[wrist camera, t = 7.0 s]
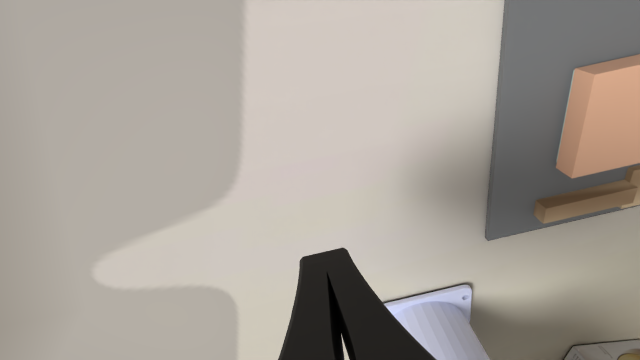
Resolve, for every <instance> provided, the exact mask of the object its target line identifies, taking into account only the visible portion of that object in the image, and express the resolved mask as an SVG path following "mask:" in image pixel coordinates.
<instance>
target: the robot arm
mask: <svg viewBox="0 0 640 360" xmlns="http://www.w3.org/2000/svg"><path fill="white" fill-rule="evenodd" d="M471 299H472V289H471V288H470V286H469V285H460V286H456V287H452V288H448V289H443V290H439V291H435V292H431V293H426V294H422V295H418V296H414V297H409V298H405V299H401V300H397V301H393V302H388V303H384V304H383V303H382V301H381V300H380V299H379V298H378V296H377V295H376V294H375V293H374V291H373V290H372V289H371V287H370V286H369V285H368V283H367V282H366V281H365V279H364V278H363V276H362V275H361V273H360V272H359V270H358V269H357V267H356V266H355V264H354V262H353V261H352V259H351V257H350V255H349V253H348V251H347V250H346V249H345V248H339V249H335V250H331V251H326V252H322V253H318V254H313V255H309V256H305V257H302V259H301V260H300V270H299V279H298V286H297V291H296V297H295V301H294V306H293V310H292V314H291V319H290V323H289V326H288V330H287V333H286V336H285V340H284V343H283V347H282V350H281V353H280V356H279V359H278V360H344V353H343V345H342V337H343V340H344V343H345V347H346V350H347V353H348V356H349V359H350V360H490V358H489V357H488V355H487V353H486V351H485V350H484V348H483V346H482V345H481V343H480V341H479V339H478V338H477V336H476V334H475V333H474V331H473V329H472V328H471V326H470V314H471ZM341 334H342V337H341Z"/></svg>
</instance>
